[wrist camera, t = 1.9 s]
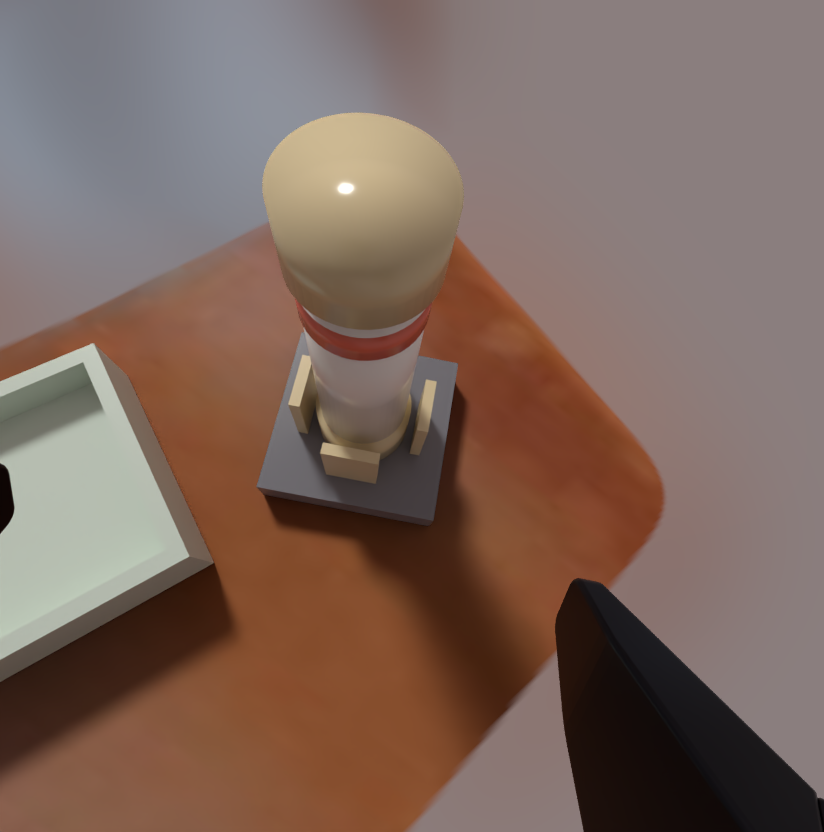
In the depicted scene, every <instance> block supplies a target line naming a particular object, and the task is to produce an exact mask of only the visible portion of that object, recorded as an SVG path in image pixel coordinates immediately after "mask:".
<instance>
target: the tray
mask: <svg viewBox="0 0 824 832" xmlns="http://www.w3.org/2000/svg"><path fill="white" fill-rule="evenodd" d="M0 463H1V464H3V465H5V466H6V468H7V469H8V471H9V474H10V480H11V487H12V493H13V499H14V506H15V509H14V514H13V517H12V519H11V521H10V523H9V524H8V525H7V527H6V528H5V529H4V530H3V531H2V533H1V534H0V682H1V681H3V680H5V679H6V678H8V677H10V676H12V675H14V674H15V673H17V672H19V671H21V670H23V669H24V668H26V667H28V666H30V665H32V664H33V663H35V662H37V661H39V660H41V659H42V658H44V657H46V656H48V655H50V654H51V653H53V652H55V651H57V650H59V649H60V648H62V647H64V646H66V645H68V644H69V643H71V642H73V641H75V640H77V639H78V638H80V637H82V636H84V635H85V634H87V633H89V632H91V631H93V630H94V629H96V628H98V627H100V626H102V625H103V624H105V623H107V622H109V621H111V620H112V619H114V618H116V617H118V616H120V615H121V614H123V613H125V612H127V611H129V610H130V609H132V608H134V607H136V606H138V605H139V604H141V603H143V602H145V601H147V600H148V599H150V598H152V597H154V596H156V595H157V594H159V593H161V592H163V591H165V590H166V589H168V588H170V587H172V586H173V585H175V584H177V583H179V582H181V581H182V580H184V579H186V578H188V577H190V576H191V575H193V574H195V573H197V572H199V571H200V570H202V569H204V568H206V567H208V566H209V565H211V564H213V563H214V561H213V559H212V557H211V555H210V553H209V551H208V548H207V546H206V544H205V542H204V540H203V538H202V535H201V533H200V531H199V529H198V527H197V525H196V522H195V520H194V518H193V516H192V514H191V512H190V509H189V507H188V505H187V503H186V501H185V499H184V496H183V494H182V492H181V490H180V488H179V486H178V483H177V481H176V479H175V477H174V475H173V473H172V470H171V468H170V466H169V464H168V462H167V460H166V457H165V455H164V453H163V451H162V449H161V447H160V445H159V442H158V440H157V438H156V436H155V434H154V432H153V429H152V427H151V425H150V423H149V421H148V419H147V416H146V414H145V412H144V410H143V408H142V406H141V403H140V401H139V399H138V397H137V395H136V393H135V390H134V388H133V386H132V384H131V382H130V380H129V377H128V376H127V375H126V374H125V373H124V372H123V371H122V370H121V369H120V368H119V367H118V366H117V365H116V364H115V363H114V362H113V361H112V360H111V359H110V358H109V357H107V356H106V355H105V354H104V353H103V352H102V351H101V350H100V349H99V348H98V347H97V346H96V345H95V344H94V343H93V344H90V345H88V346H86V347H83V348H81V349H78V350H76V351H73V352H71V353H68V354H66V355H64V356H61V357H59V358H56V359H54V360H51V361H49V362H47V363H44V364H42V365H39V366H37V367H34V368H32V369H30V370H27V371H25V372H22V373H20V374H17V375H15V376H13V377H10V378H8V379H5V380H3V381H0Z"/></svg>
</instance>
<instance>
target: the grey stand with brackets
mask: <svg viewBox="0 0 824 832" xmlns="http://www.w3.org/2000/svg"><path fill="white" fill-rule="evenodd" d="M457 367H458V363H453V362H448V361H443V360H438V359H433V358H428V357H423V356H418V358H417V363H416V367H415V372H414V376H413V381H412V385H411V390H410V396H411V414H410V418H409V422H408V425H407V429H406V433H405V436H404V439H403V441H402V442H401V444H400V445H399V447H398V448H397V449H396V450H395V451H394V452H393V453H392V454H390V455H389V456H387V457H386V458H384V459H382V460H380V453H375V452H370V451H365V450H360V449H355V448H350V447H344V446H339V445H334V444H329V443H326V442H325V440H324V438H323V436H322V433H321V429H320V425H319V421H318V417H317V413H316V396H317V387H316V382H315V378H314V373H313V369H312V364H311V359H310V355H309V350H308V346H307V341H306V336H305V333H303V332H302V333H301V337H300V340H299V344H298V347H297V351H296V354H295V357H294V361H293V364H292V368H291V371H290V374H289V378H288V381H287V385H286V388H285V391H284V395H283V398H282V402H281V405H280V409H279V412H278V415H277V419H276V422H275V426H274V429H273V432H272V436H271V439H270V443H269V446H268V450H267V453H266V456H265V460H264V463H263V467H262V470H261V473H260V477H259V480H258V484H257V488H258V489H259V490H260V491H261V492H262V493H263V494H264V495H268V496H273V497H279V498H284V499H289V500H294V501H300V502H305V503H310V504H315V505H321V506H326V507H331V508H336V509H341V510H347V511H352V512H357V513H362V514H368V515H373V516H378V517H383V518H388V519H394V520H399V521H404V522H409V523H415V524H420V525H425V526H429V525H430V524H431V523H432V522H433V520H434V514H435V508H436V501H437V495H438V488H439V482H440V476H441V469H442V463H443V456H444V450H445V444H446V437H447V431H448V425H449V418H450V412H451V405H452V399H453V393H454V386H455V380H456V373H457Z"/></svg>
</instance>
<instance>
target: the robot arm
mask: <svg viewBox="0 0 824 832" xmlns="http://www.w3.org/2000/svg"><path fill="white" fill-rule="evenodd" d="M14 509H15V506H14V499H13V493H12V487H11V480H10V474H9V471H8V469H7V468H6V466H5V465H3V464H1V463H0V534H1V533H2V531H3V530H4V529H5V528H6V527H7V525H8V524H9V523H10V521H11V519H12V517H13V514H14ZM555 634H556V645H557V657H558V668H559V680H560V691H561V701H562V712H563V722H564V730H565V736H566V742H567V747H568V752H569V757H570V763H571V768H572V773H573V778H574V783H575V789H576V794H577V799H578V804H579V809H580V814H581V819H582V825H583V830H584V832H824V799H822V798H817V794H816V792H815V791H814V790H813V789H812V788H811V787H810V786H809V785H808V784H807V783H806V782H805V781H804V780H803V779H802V778H801V777H800V776H799V775H798V774H797V773H796V772H795V771H794V770H793V769H792V768H791V767H790V766H789V765H788V764H787V763H786V762H785V761H784V760H783V759H782V758H781V757H779V755H777V754H776V753H775V752H774V751H773V750H772V749H771V748H770V747H769V746H768V745H767V744H766V743H765V742H764V741H763V740H762V739H761V738H760V737H759V736H758V735H757V734H756V733H755V732H754V731H753V730H752V729H751V728H750V727H749V726H748V725H747V724H746V723H744V721H742V719H740V718H739V717H738V716H737V715H736V714H735V713H734V712H733V711H732V710H731V709H730V708H729V707H728V706H727V705H726V704H725V703H724V702H723V701H722V700H721V699H720V698H719V697H718V696H717V695H716V694H715V693H714V692H713V691H712V690H711V689H710V688H709V687H708V686H706V684H705V683H703V682H702V681H701V680H700V679H699V678H698V677H697V676H696V675H695V674H694V673H693V672H692V671H691V670H690V669H689V668H688V667H687V666H686V665H685V664H684V663H683V662H682V661H681V660H680V659H679V658H678V657H677V656H676V655H675V654H674V653H673V652H672V651H671V650H670V649H669V648H668V647H667V646H665V645H664V644H663V643H662V642H661V641H660V640H659V639H658V638H657V637H656V636H655V635H654V634H653V633H652V632H651V631H650V630H649V629H648V628H647V627H646V626H645V625H644V624H643V623H642V622H641V621H640V620H639V619H638V618H637V617H636V616H635V615H634V614H633V613H631V611H629V610H628V608H626V607H625V606H624V605H623V604H622V603H621V602H620V601H619V600H618V599H617V598H616V597H615V596H614V595H613V594H612V593H611V592H610V591H609V590H608V589H607V588H606V587H605V586H604V585H603V584H601V583H599V582H596V581H591V580H586V579H581V578H577V579H574V580H573V581H572V582H571V584H570V586H569V588H568V591H567V593H566V595H565V598H564V600H563V602H562V605H561V607H560V609H559V612H558V614H557V617H556V623H555Z"/></svg>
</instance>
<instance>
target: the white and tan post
mask: <svg viewBox="0 0 824 832" xmlns="http://www.w3.org/2000/svg"><path fill="white" fill-rule="evenodd" d="M262 184H263V185H262V187H263V197H264V202H265V206H266V210H267V214H268V218H269V222H270V226H271V230H272V234H273V238H274V242H275V246H276V250H277V254H278V259H279V263H280V267H281V271H282V275H283V278H284V280H285V283H286V285H287V287H288V289H289V290H290V292H291V294H292V295H293V296H294V297H295V300H296V305H297V309H298V314H299V318H300V320H301V323H302V325H303V327H304V332H305V336H306V341H307V346H308V350H309V355H310V359H311V364H312V369H313V373H314V378H315V382H316V387H317V396H316V413H317V417H318V421H319V425H320V429H321V433H322V436H323V438H324V440H325V442H326V443H329V444H334V445H339V446H344V447H350V448H355V449H360V450H365V451H370V452H375V453H380V460H382V459H384V458H386V457H387V456H389V455H390V454H392V453H393V452H394V451H395V450H396V449H397V448H398V447H399V445H400V444H401V442H402V441H403V439H404V436H405V433H406V429H407V425H408V422H409V418H410V414H411V396H410V390H411V385H412V381H413V376H414V372H415V367H416V363H417V358H418V354H419V349H420V345H421V340H422V336H423V332H424V328H425V326H426V324H427V321H428V318H429V314H430V310H431V305H432V302H433V300H434V299H435V298H436V296H437V295H438V293H439V291H440V289H441V287H442V285H443V283H444V279H445V275H446V271H447V267H448V263H449V259H450V255H451V251H452V247H453V243H454V239H455V235H456V231H457V227H458V224H459V220H460V215H461V212H462V208H463V200H464V192H463V183H462V180H461V175H460V173H459V171H458V168H457V166H456V164H455V162H454V161H453V159H452V158H451V156H450V155H449V154H448V152H447V151H446V150H445V149H444V148H443V147H442V146H441V145H440V144H439V143H438V142H437V141H436V140H435V139H434V138H432V137H431V136H430V135H428V134H427V133H425V132H424V131H422V130H421V129H419V128H417V127H415V126H413V125H411V124H409V123H407V122H404V121H401V120H398V119H396V118H392V117H388V116H384V115H377V114H371V113H344V114H336V115H332V116H327V117H323V118H320V119H317V120H314V121H312V122H309V123H307V124H305V125H303V126H301V127H300V128H298V129H296V130H295V131H293V132H292V133H291V134H289V135H288V136H287V137H286V138H284V140H283V141H282V142H281V143H280V144H279V145H278V146H277V147H276V148H275V150H274V152H273V153H272V154H271V156H270V158H269V160H268V162H267V164H266V167H265V171H264V175H263V183H262Z"/></svg>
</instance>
